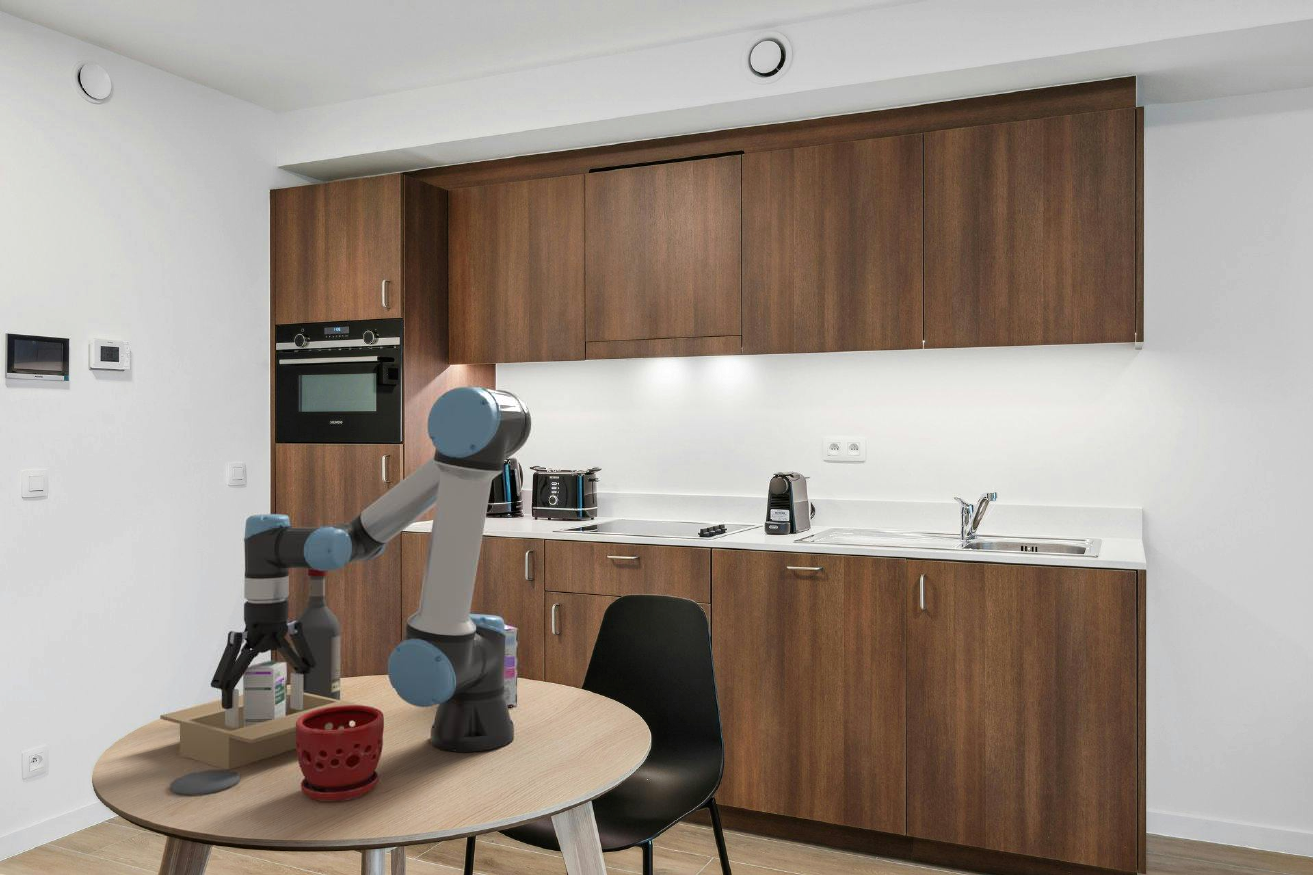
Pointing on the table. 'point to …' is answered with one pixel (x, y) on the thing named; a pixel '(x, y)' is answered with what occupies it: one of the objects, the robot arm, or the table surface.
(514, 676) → the candy box
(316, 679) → the liquor
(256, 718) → the syrup box
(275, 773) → the table surface
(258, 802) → the table surface
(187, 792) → the coaster
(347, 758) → the plant pot
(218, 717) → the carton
